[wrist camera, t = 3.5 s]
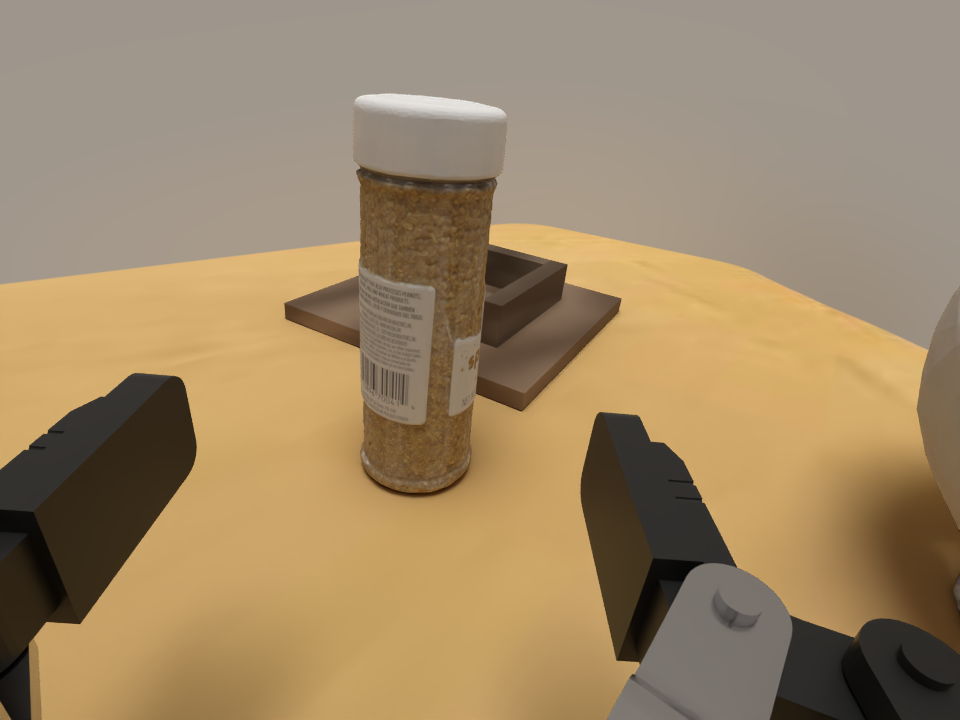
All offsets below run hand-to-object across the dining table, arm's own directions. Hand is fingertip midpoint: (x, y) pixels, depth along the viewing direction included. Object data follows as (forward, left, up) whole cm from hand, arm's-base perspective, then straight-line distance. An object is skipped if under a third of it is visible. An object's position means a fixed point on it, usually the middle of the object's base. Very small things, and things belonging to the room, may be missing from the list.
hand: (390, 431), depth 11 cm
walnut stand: (-11, +22, -8) cm, 25 cm away
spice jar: (-5, +8, -8) cm, 12 cm away
